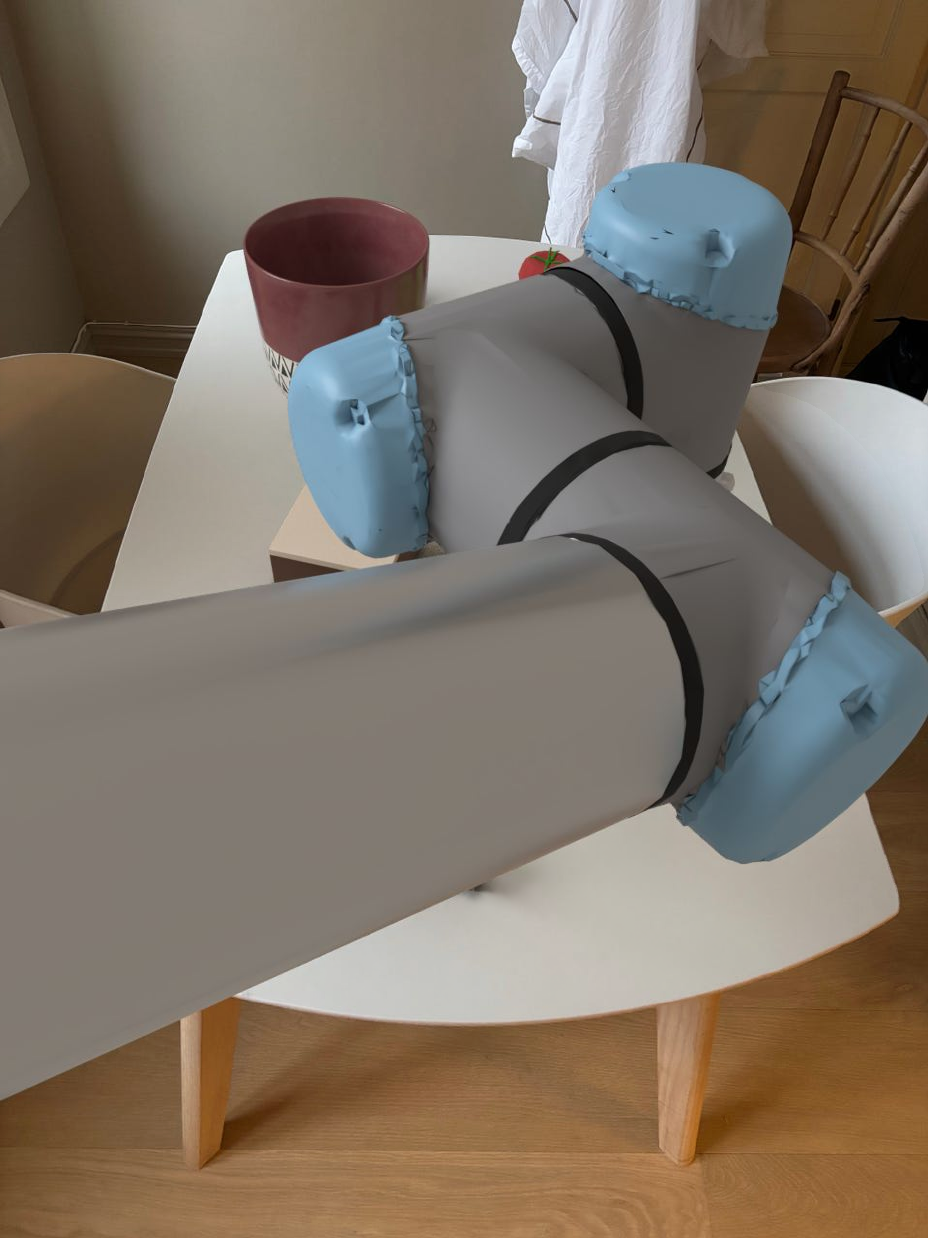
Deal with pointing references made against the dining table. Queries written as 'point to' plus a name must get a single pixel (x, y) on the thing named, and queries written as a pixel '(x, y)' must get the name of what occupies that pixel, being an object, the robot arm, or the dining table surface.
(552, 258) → the tomato
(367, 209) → the planter
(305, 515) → the cake
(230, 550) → the dining table surface
